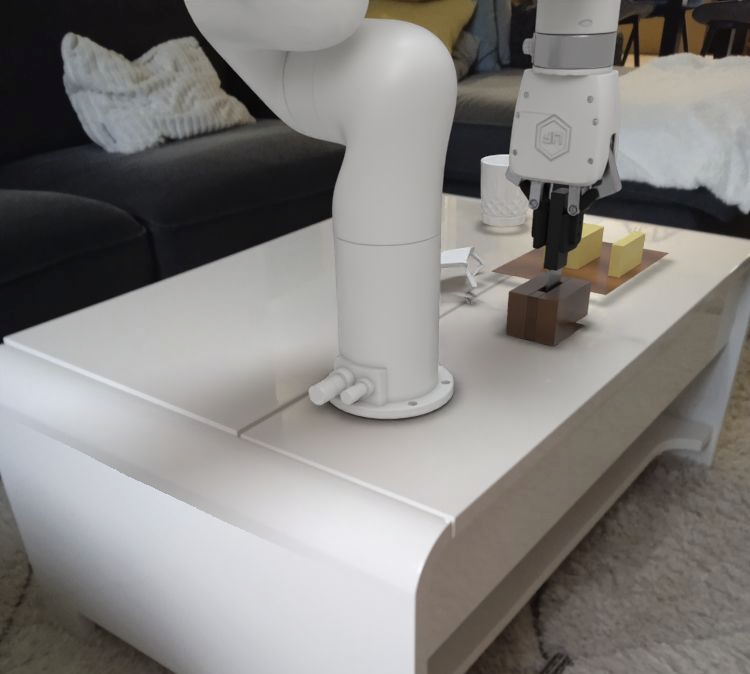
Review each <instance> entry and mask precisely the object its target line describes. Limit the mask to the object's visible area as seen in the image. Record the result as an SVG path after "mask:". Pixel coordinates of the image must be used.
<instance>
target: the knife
mask: <svg viewBox="0 0 750 674" xmlns="http://www.w3.org/2000/svg"><path fill="white" fill-rule="evenodd" d="M568 194H569V187H568V188H567V187H560V188H557V189H555V190H552V192H551V196H550V207H549V217H548V227H547V238H546V248H545V258H544V269H549V270H547V280H546V290H545V293H547V292H549V291H551V290H552V289H554V288H556V287H557V286H559V285H560V283H561V274H562V268H563V267H565V266H566V265H567V258H568V253H566V254H562V253H560V252H559V240H560V230H561V219H562V216H563V215H565V214H567V208H568Z"/></svg>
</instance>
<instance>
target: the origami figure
mask: <svg viewBox="0 0 750 674" xmlns="http://www.w3.org/2000/svg"><path fill="white" fill-rule="evenodd" d="M475 248H476V247H475V246H465V247H460V248H452V249H447V250H441V268H440V270H441V269H453V268H463V270H464V272H465V274H466V276H467V278H468V280H469V282H470V286H468V287H467V288H466V289H465V291H464V293H467V294H469V293H470V292H471V291H473V290H474V289H477V286H478V284H477V282H476V280H475V279H474V276H476V275H477V274H478V273H479V271H480V270H481V269H482V268H483V267H484V266H485V265H486V262H485V261H484V260H483V259H482V258H481V257H480V256H479V255H478V253H477V252H476V251H475ZM470 257H471V258H472V259H474V260H475V261H476V262H477V263H479V264H478V266H477V267H476V269H475V270H474V271H473V273H471V271H470V270H469V268H468V262H469V260H470ZM464 300H465V301H466V304H467V305H472V301H471V299H470V297H467V296H464Z"/></svg>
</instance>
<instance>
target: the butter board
mask: <svg viewBox="0 0 750 674" xmlns="http://www.w3.org/2000/svg"><path fill="white" fill-rule="evenodd" d="M614 243H615V242H607V241H602V247H601V255H600V257H598V258H596V259H595V260H593V261H591V262H589V263H588V264H586V265H584V266H583V267H581V268H579V269H578V270H575V269H570V268H565V267H563V268H562V274H561V276H566V277H571V278H577V279H582V280H587V281H591V282H592V283H591V291H590V293H594V294H598V295H603V296H607V295H608V294H610V293H612V292H613V291H614V290H616V289H618V288H619V287H620V286H622V285H623V284H625V283H627V282H628V281H630V280H632V279H633V278H635V276H637V275H639V274H640V273H641V272H643V271H644V270H646V269H648V268H649V267H651V266H652V265H654V264H655V263H657V262H658V261H660V260H661V259H663V258H664V257H666V256H668V255H669V254H670V253H669V252H666V251H665V252H664V251H660V250H654V249H648V248H643V254H642V260H641V264H639V265H638V266H636V267H635V268H633V269H632V270H630V271H628V272H627V273H625V274H624V275H622V276H621V277H619V278H617V277H612V276H608V271H609V264H610V256H611V249H612V244H614ZM543 254H544V246H543V247H541V248H539V249H535V248H533V249H531V250H529V251H528V252H526V253H523V254H521V255H520V256H518V257H516V258H514V259H512V260H510V261H507V262H506V263H504V264H502V265H500V266H498V267H497V268H495V269H493V270H491V272H492V273H497V274H503V275H507V276H511V277H516V278H521V279H526V280H530V279H532V278H534V277H536V276H538V275H539V274H541V273H543V272H546V273H547V270H549V269H544V263H543Z"/></svg>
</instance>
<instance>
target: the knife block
mask: <svg viewBox="0 0 750 674" xmlns="http://www.w3.org/2000/svg"><path fill="white" fill-rule="evenodd" d="M546 280H547V273H546V272H543V273H541V274H539V275H538V276H536V277H534V278H532V279H528V280H527V281H525V282H523V283H521V284H520V285H518V286H516V287H514V288H512V289H511V290H509V291H508V298H507V310H506V312H507V313H506V324H505V326H506V327H505V335H506V336H510V337H511V336H512V337H515V338H519V339H522V340H526V341H530V342H535V343H538V344H543V345H546V346H550V347H555V346H557V345H558V344H560V343H561V342H563V341H564V340H565V339H567V338H568V337H570V336H571V335H572V334H574V333H575V332H576V331H578V330H580V329H581V328H582V327H584V326H585V324H584V323H579V321H581V320H582V319H583V318H584V317H586V316H588V312H589V306H590V299H591V298H590V297H591V292H590V291H591V283H592V282H591V281H587V280H582V279H577V278H571V277H566V276H561V283H560V285H559V286H557V287H556V288H554V289H552V290H551V291H549V292H547V293H545V290H546Z"/></svg>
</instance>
